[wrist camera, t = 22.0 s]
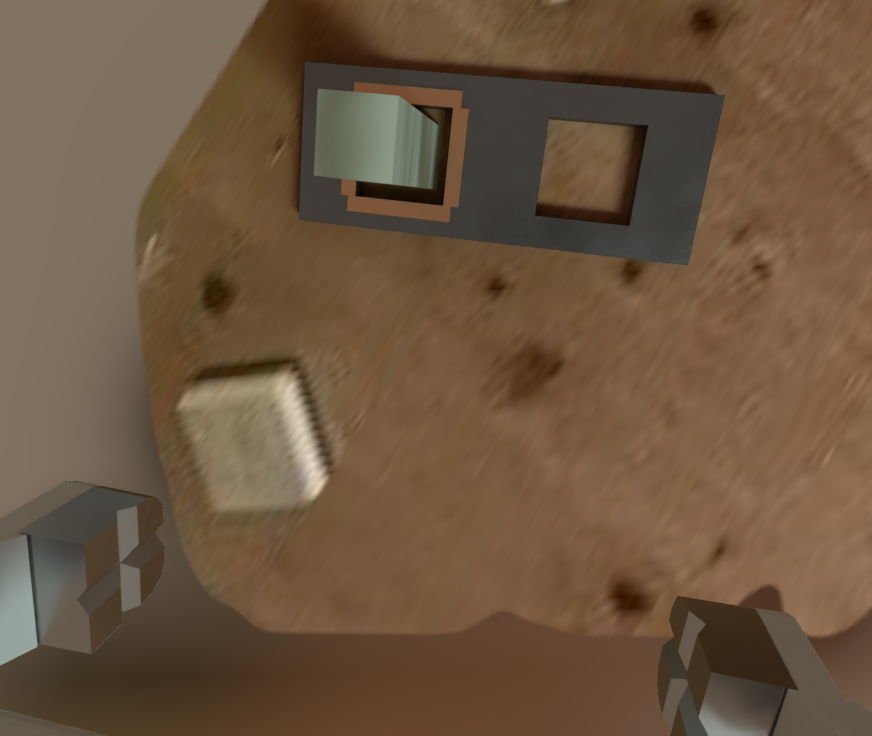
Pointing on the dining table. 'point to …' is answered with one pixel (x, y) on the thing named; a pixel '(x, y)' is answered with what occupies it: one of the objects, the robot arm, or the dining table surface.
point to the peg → (374, 139)
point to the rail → (525, 161)
